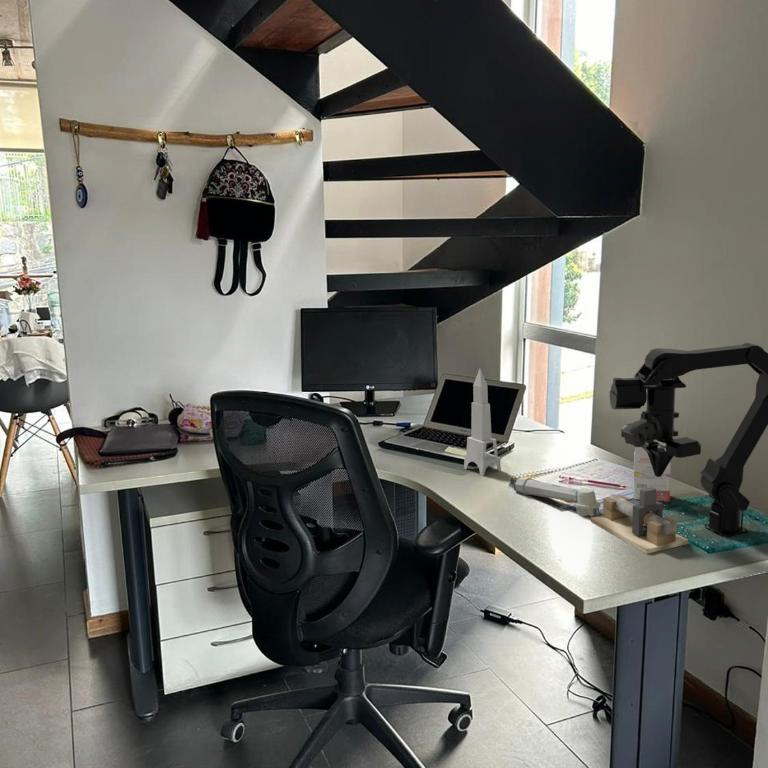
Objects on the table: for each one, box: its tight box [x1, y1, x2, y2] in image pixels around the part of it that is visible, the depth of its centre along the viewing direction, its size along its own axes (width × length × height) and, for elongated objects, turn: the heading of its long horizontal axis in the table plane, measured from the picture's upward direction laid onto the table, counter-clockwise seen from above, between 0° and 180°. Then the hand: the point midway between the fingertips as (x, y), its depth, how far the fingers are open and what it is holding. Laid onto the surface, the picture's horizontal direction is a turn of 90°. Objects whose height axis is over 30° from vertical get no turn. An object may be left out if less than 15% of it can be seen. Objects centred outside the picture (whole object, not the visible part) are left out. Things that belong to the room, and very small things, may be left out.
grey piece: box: [512, 477, 601, 518], centre depth 181 cm, size 5×7×25 cm
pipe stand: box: [590, 493, 689, 555], centre depth 161 cm, size 11×19×6 cm, turn 20°
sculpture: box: [463, 368, 502, 477], centre depth 206 cm, size 7×8×30 cm
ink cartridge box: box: [633, 446, 671, 503], centre depth 180 cm, size 9×5×15 cm, turn 68°
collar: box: [632, 487, 664, 536], centre depth 158 cm, size 6×2×10 cm, turn 110°
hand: (658, 476), depth 159 cm, fingers closed
